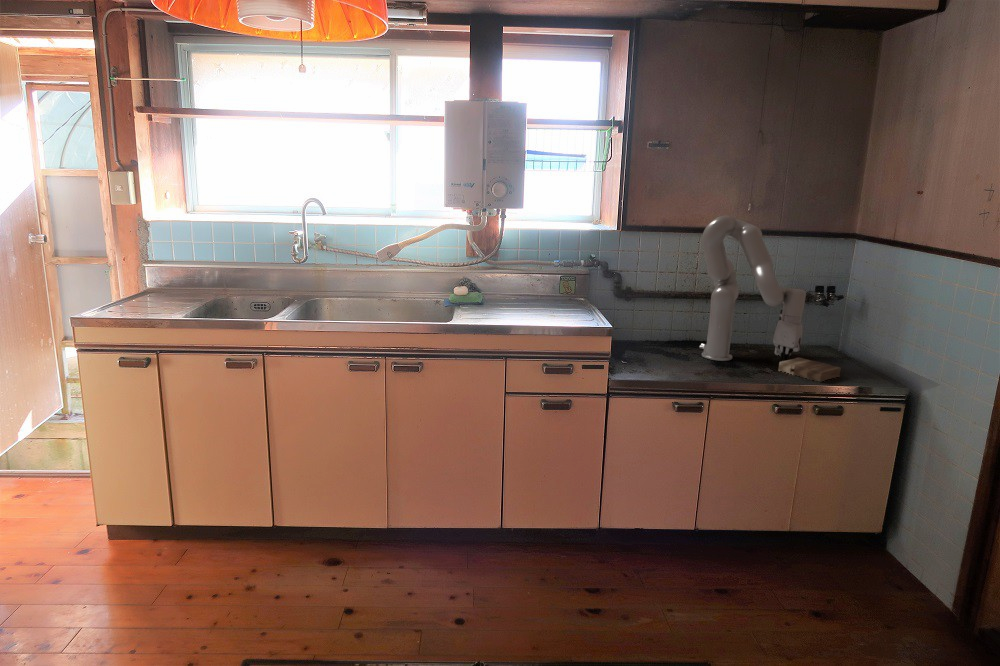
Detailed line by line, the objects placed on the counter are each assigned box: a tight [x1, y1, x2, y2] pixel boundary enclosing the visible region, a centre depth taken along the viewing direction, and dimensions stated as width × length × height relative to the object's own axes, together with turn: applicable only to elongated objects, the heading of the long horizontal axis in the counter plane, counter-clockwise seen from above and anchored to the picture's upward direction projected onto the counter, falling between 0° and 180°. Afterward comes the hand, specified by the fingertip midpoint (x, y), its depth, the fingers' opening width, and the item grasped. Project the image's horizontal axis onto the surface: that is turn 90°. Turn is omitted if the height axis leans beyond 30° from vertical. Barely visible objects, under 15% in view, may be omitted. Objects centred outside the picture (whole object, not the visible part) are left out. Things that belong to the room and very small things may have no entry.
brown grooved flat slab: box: [792, 360, 842, 382], centre depth 258 cm, size 12×14×4 cm
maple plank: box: [778, 357, 812, 376], centre depth 265 cm, size 6×14×4 cm, turn 125°
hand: (783, 362), depth 269 cm, fingers closed
